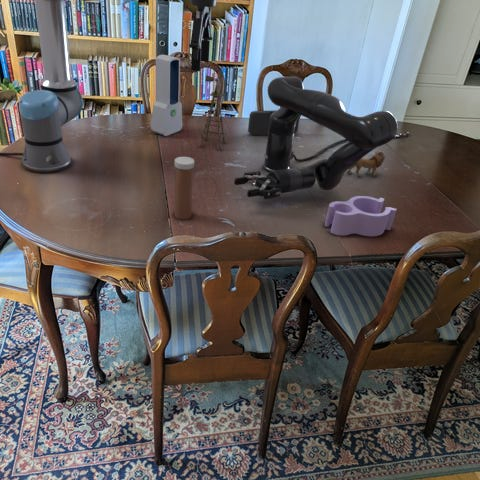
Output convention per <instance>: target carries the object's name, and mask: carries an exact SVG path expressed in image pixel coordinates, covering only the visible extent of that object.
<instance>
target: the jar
mask: <svg viewBox="0 0 480 480" xmlns="http://www.w3.org/2000/svg"><path fill="white" fill-rule="evenodd" d="M193 176H194V167H193V168H192V169H187V170H184V169H179V168H177V167H175V178H174V179H175V183H174V184H175V187H174V188H175V189H174V217H175V218H176V219H179V220H188V219H190V218H191V217H192V203H193V181H194V180H193V179H194V178H193Z"/></svg>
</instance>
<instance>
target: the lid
mask: <svg viewBox="0 0 480 480" xmlns="http://www.w3.org/2000/svg"><path fill="white" fill-rule="evenodd" d="M173 164H174V167H175V168H176V167H177V168H179V169H184V170H187V169H192V168H193V169H194V168H195V159H194V158H192V157H190V156H178V157H176V158H174V163H173Z"/></svg>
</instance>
